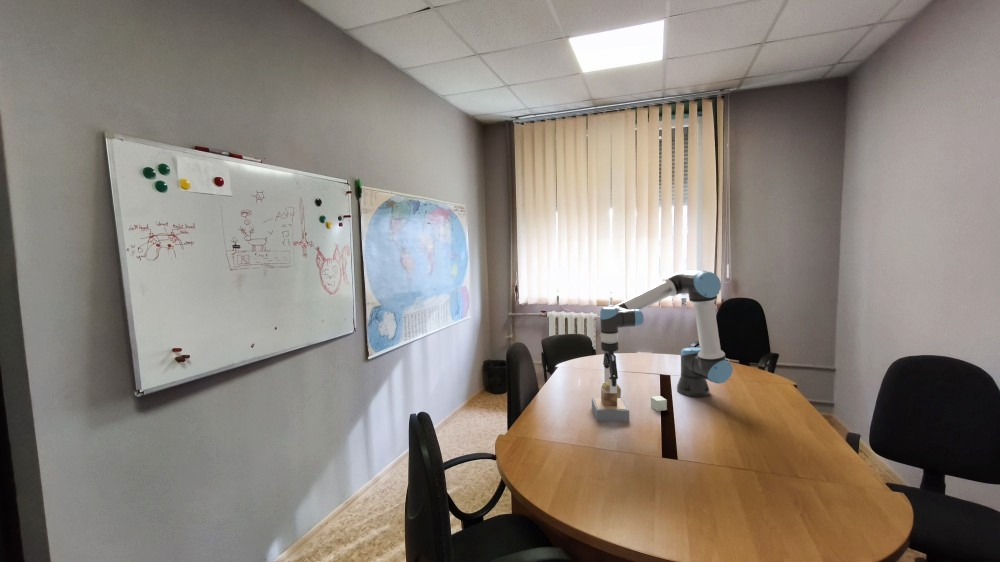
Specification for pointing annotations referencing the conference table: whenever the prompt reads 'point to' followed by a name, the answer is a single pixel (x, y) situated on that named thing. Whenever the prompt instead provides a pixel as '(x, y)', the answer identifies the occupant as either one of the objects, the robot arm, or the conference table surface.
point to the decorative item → (607, 385)
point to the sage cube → (658, 403)
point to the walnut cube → (608, 397)
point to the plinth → (610, 411)
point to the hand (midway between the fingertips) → (610, 387)
